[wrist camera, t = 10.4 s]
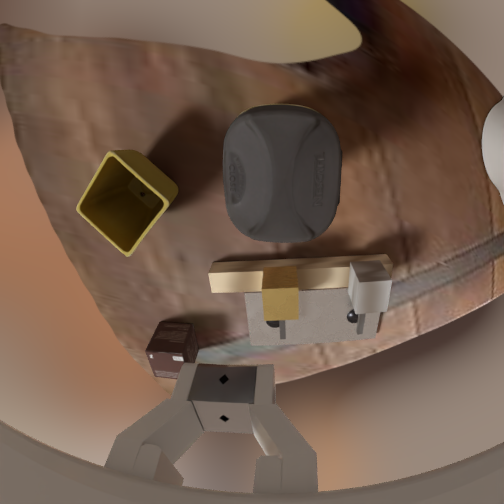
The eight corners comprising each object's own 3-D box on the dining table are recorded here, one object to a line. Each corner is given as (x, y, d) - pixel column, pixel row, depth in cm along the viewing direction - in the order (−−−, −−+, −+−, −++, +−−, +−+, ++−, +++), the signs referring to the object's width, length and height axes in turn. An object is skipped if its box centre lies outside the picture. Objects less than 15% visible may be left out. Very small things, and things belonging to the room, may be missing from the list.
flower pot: (155, 229, 39) (127, 259, 31) (110, 189, 37) (74, 210, 29) (194, 183, 36) (171, 203, 28) (145, 139, 34) (109, 148, 26)
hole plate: (382, 281, 40) (384, 286, 39) (373, 334, 44) (375, 338, 43) (245, 289, 42) (244, 293, 41) (251, 341, 47) (250, 346, 46)
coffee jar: (245, 109, 32) (212, 100, 15) (313, 109, 31) (352, 101, 15) (247, 187, 36) (220, 254, 19) (312, 188, 35) (342, 256, 19)
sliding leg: (296, 265, 36) (298, 287, 32) (297, 332, 41) (298, 357, 36) (263, 267, 37) (261, 289, 32) (268, 333, 41) (267, 358, 37)
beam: (386, 249, 38) (407, 279, 31) (377, 312, 42) (392, 347, 35) (212, 257, 41) (198, 289, 33) (223, 320, 45) (213, 356, 38)
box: (166, 346, 49) (153, 376, 43) (159, 320, 47) (143, 350, 40) (199, 349, 49) (189, 381, 42) (194, 322, 46) (182, 354, 39)
